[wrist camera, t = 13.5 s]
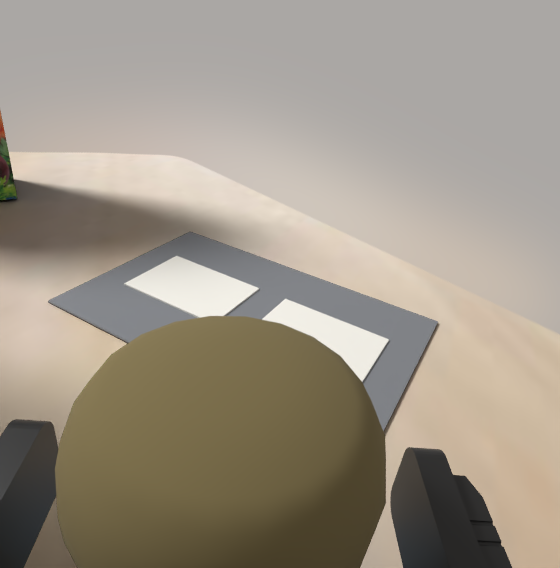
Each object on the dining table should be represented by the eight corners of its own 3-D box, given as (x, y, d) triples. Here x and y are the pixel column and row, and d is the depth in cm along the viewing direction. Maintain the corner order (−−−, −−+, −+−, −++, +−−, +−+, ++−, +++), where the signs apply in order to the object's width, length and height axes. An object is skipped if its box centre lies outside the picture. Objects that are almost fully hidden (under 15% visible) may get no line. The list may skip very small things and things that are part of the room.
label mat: (48, 302, 27) (47, 299, 27) (190, 232, 37) (190, 230, 37) (366, 465, 20) (367, 462, 20) (437, 322, 30) (438, 320, 30)
